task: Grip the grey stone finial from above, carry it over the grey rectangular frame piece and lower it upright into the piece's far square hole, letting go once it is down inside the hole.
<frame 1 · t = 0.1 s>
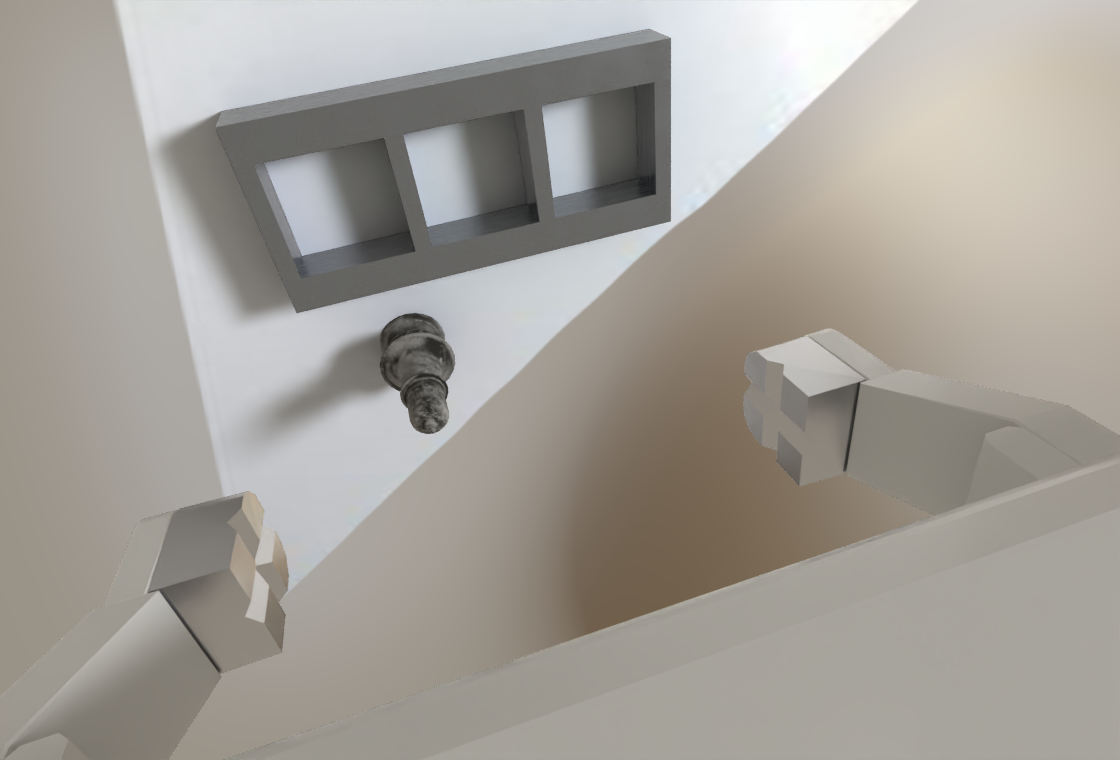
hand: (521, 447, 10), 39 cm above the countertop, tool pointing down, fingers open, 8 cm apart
grey stone finial: (412, 339, 54), on the countertop
grey rectangular frame piece: (466, 164, 46), on the countertop
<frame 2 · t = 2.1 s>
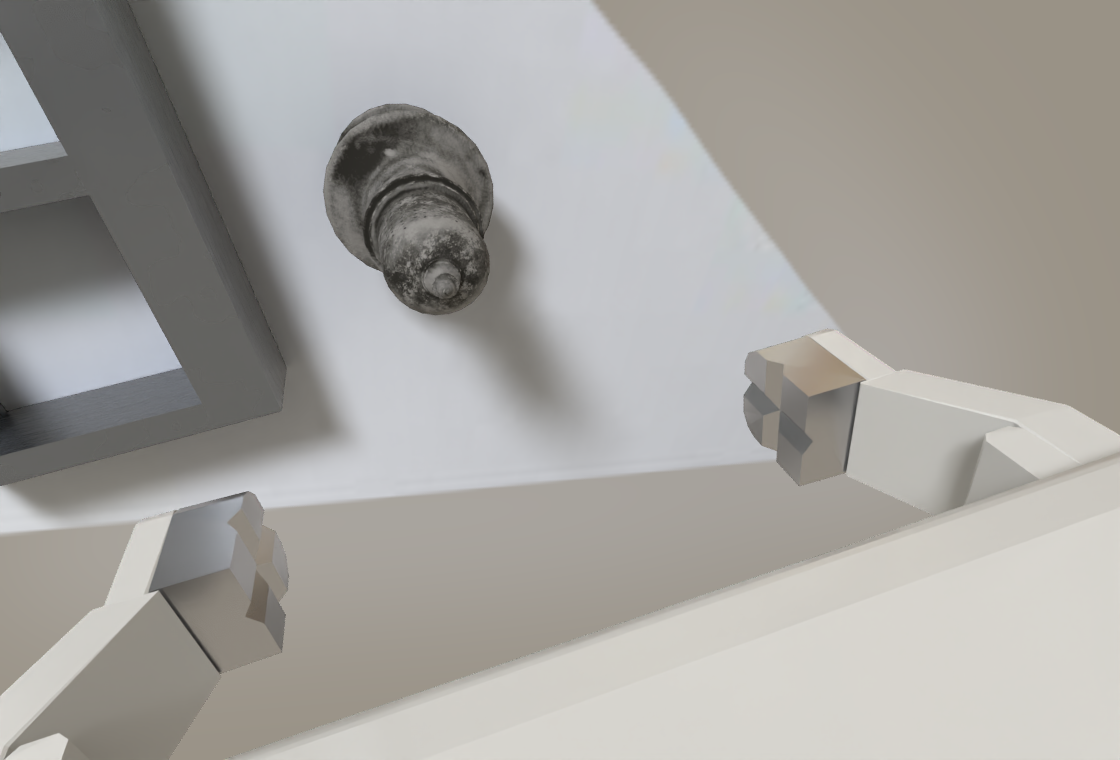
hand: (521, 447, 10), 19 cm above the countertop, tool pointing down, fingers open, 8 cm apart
grey stone finial: (402, 173, 26), on the countertop
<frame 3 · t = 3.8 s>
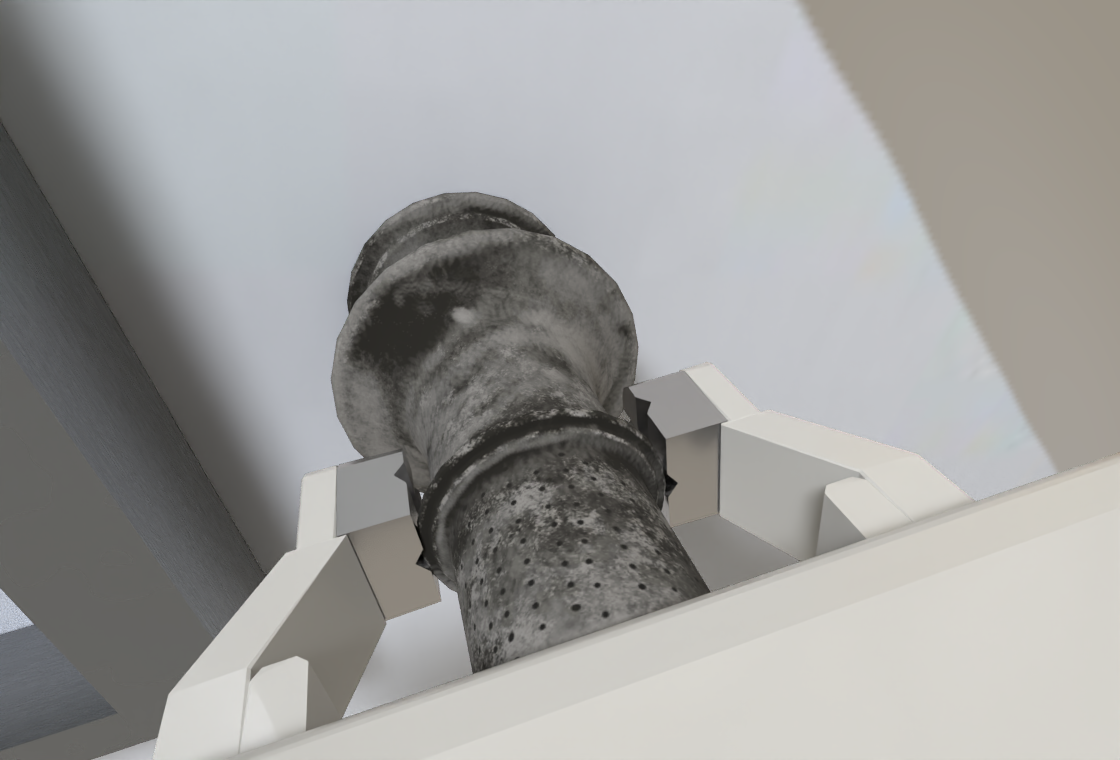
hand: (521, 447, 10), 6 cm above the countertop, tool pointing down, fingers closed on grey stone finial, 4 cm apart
grey stone finial: (463, 301, 15), on the countertop, touching gripper
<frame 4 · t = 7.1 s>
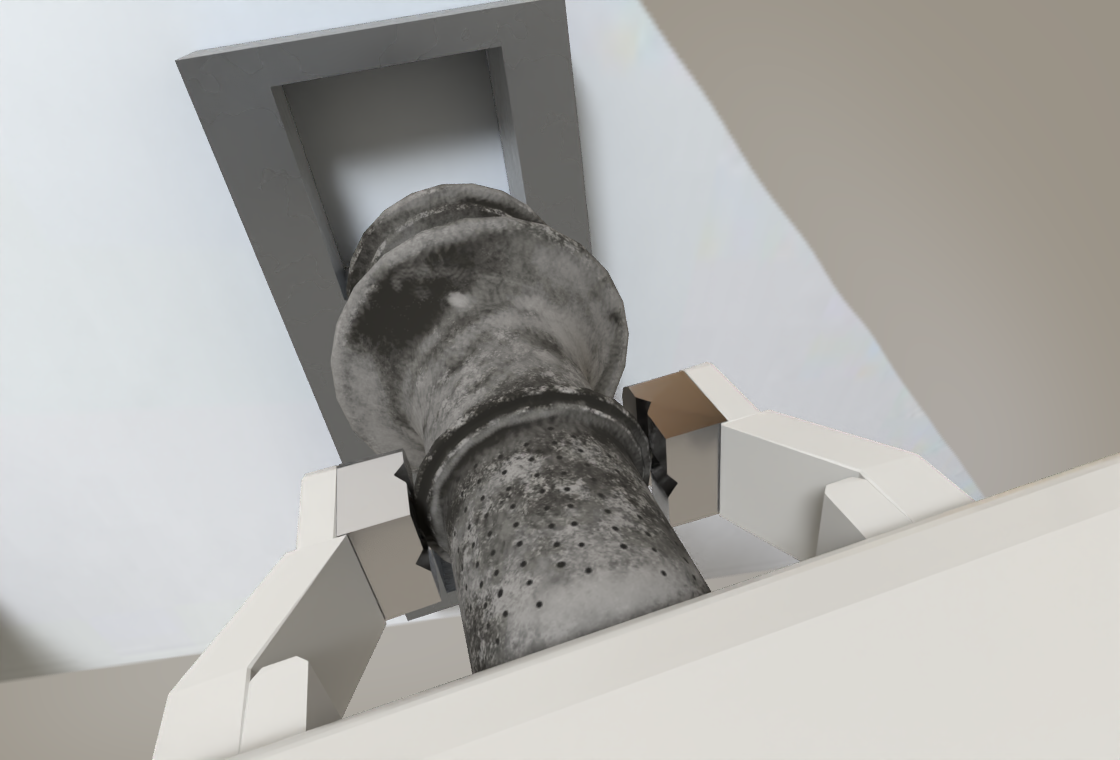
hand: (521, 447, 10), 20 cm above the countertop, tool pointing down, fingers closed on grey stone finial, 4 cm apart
grey stone finial: (460, 290, 16), point 14 cm above the countertop, touching gripper
grey rectangular frame piece: (456, 346, 32), on the countertop
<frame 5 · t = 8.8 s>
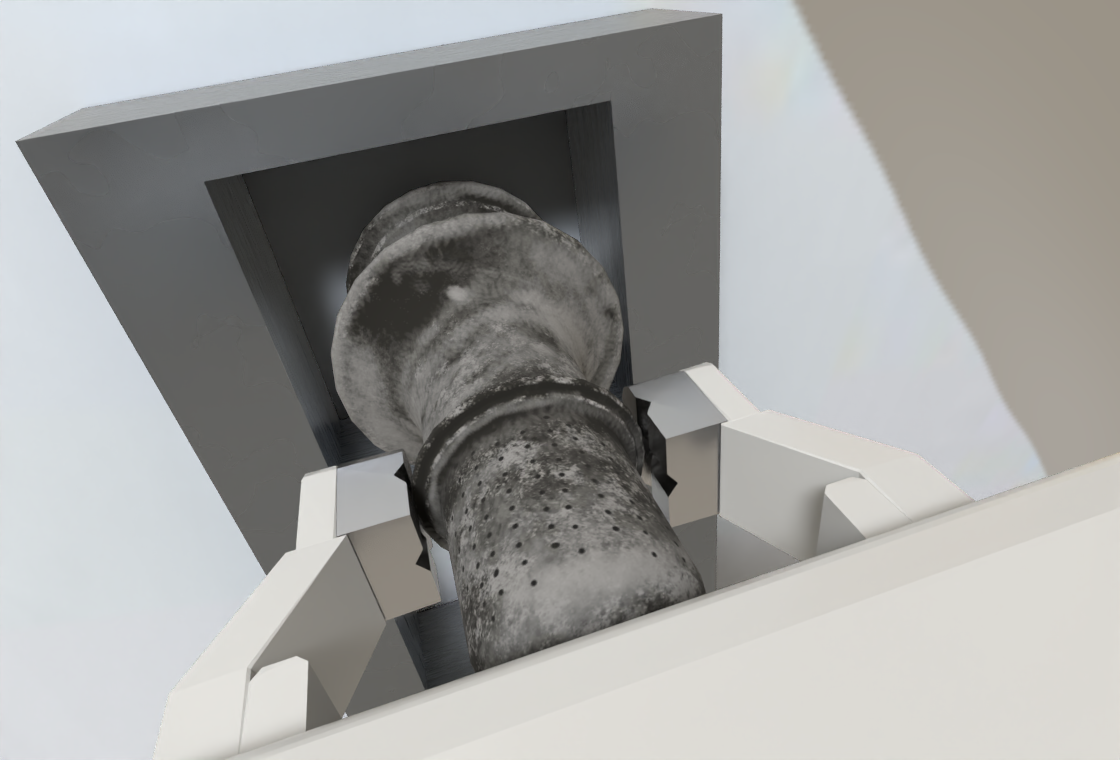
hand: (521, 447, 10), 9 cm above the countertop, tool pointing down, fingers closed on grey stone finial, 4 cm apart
grey stone finial: (458, 286, 16), point 2 cm above the countertop, touching gripper
grey rectangular frame piece: (501, 505, 23), on the countertop
when the fingers open (7 cm above the countertop, at t = 10.2 s): grey stone finial stays where it is, resting in grey rectangular frame piece.
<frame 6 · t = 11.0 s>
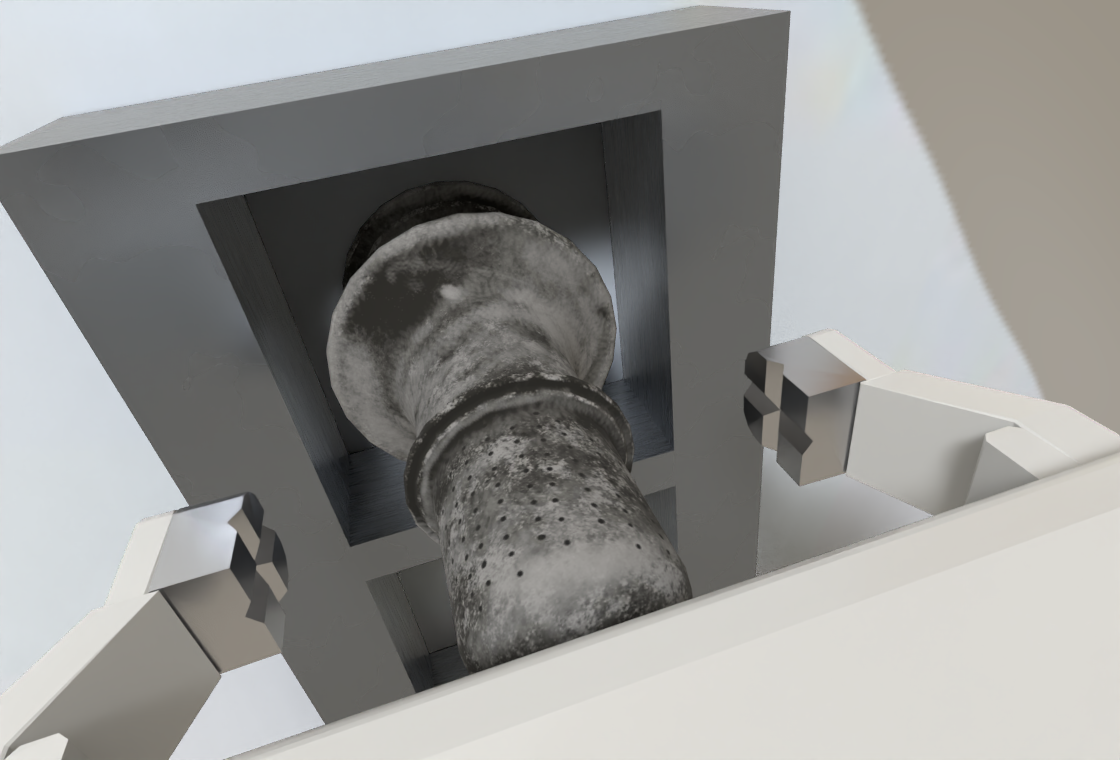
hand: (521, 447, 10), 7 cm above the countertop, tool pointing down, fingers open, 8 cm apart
grey stone finial: (453, 285, 16), resting in grey rectangular frame piece
grey rectangular frame piece: (520, 541, 21), on the countertop
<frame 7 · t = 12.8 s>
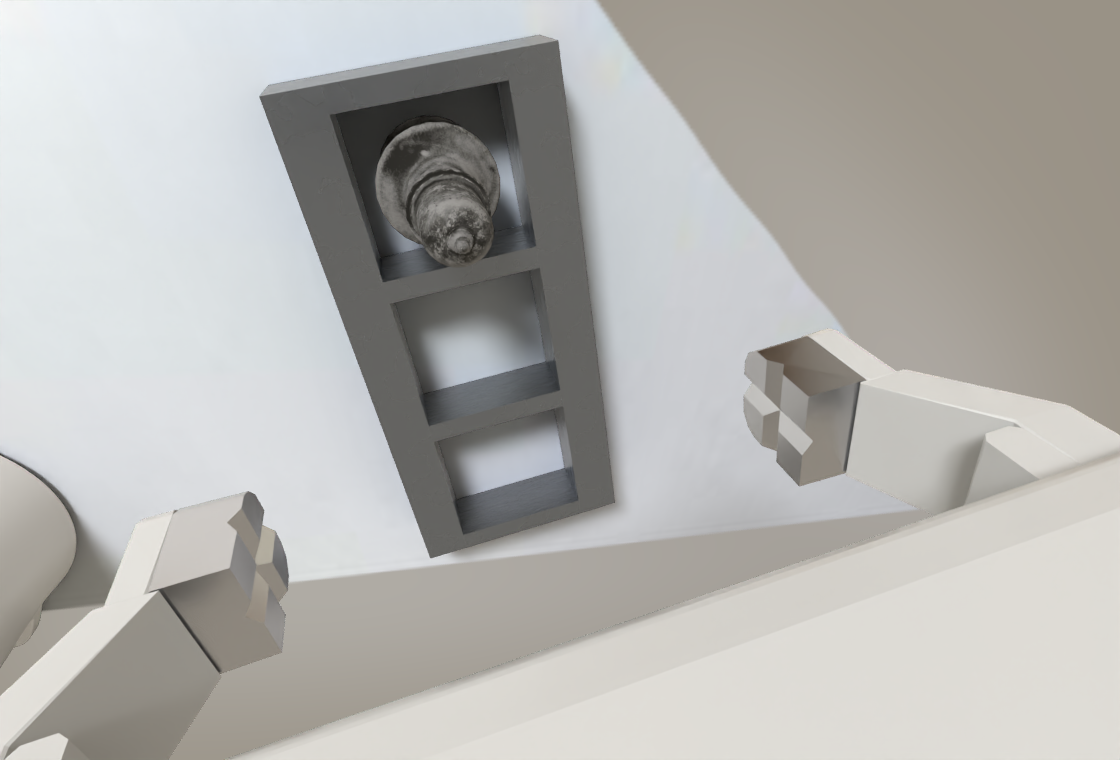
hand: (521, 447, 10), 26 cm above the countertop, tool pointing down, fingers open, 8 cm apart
grey stone finial: (431, 168, 34), resting in grey rectangular frame piece
grey rectangular frame piece: (472, 322, 38), on the countertop
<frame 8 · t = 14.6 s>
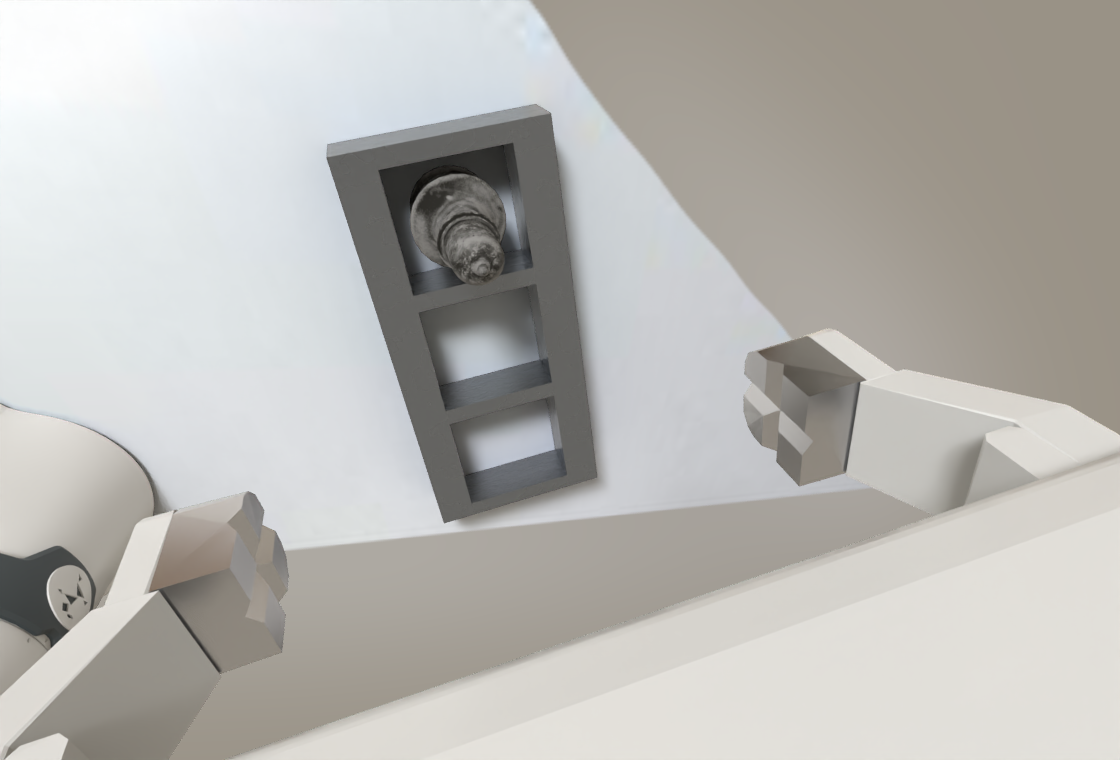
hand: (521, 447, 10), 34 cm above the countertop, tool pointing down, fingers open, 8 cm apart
grey stone finial: (450, 205, 42), resting in grey rectangular frame piece
grey rectangular frame piece: (480, 327, 47), on the countertop
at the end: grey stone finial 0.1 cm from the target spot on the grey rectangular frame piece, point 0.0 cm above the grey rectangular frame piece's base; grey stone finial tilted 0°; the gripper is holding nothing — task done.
